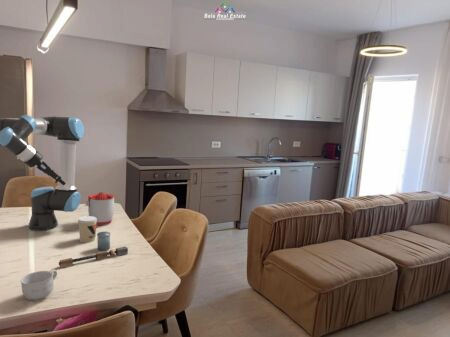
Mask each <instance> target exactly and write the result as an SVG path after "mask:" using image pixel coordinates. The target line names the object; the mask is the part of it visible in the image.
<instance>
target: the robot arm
mask: <svg viewBox="0 0 450 337" xmlns="http://www.w3.org/2000/svg"><path fill="white" fill-rule="evenodd" d="M31 134H35V135H39V136H48V137H53V138H57V139H56V140H57V142H58V143H59V161H58V173H56V172H55V170H54V169H52V168H51V167H50V166H49V165H48V164H47V163H46V162H45V161H43V158H44V156H43V154H42V153H40V152H39V151H38V150H36V149H35V148H34V147H33V146H32V145H31V144H30V143H28V142H27V141H26V140H27V139H28V137H29V136H30V135H31ZM84 134H85V127H84V124H83V122H82V120H81V119H79V118H78V117H70V116H69V117H68V116H41V117H32V116H30V115H28V114H23V115H21V116H20V117H19V118H11V117H9V118H8V117H0V144H1V146H2V147H4V148H5V149H6V150H7V151H9V152H10V153H12V154H13V155H14V156H15V157H16V159H17V160H20V161H22V162H24V164H25V165H26V166H28V167H29V168H34V167H36V168H37V169H38V170H39V171H41V172H42V173H44V174H46V175H47V176H48V177H49V178H51V179H52V180H53V181H54V183H56V184H57V186H56V187H55V188H54V186H41V187H37V188H34V189H33V190H31V192H30V193H31V195H30V200H31V217H30V218H29V223H28V229H29V230H32V231H49V230H51V229H52V230H53V229H55V228H57V227H58V226H59V224H58V219H57V217H56V214H55V211H59V212H64V213H65V212H66V213H68V212H72V213H73V212H75V211H76V210H77V209H79V208H78V207H79V206H80V203H81V200H82V196H81V193H80V192H79V191H78V188H77V187H76V185H75V180H76V178H75V177H76V160H77V157H76V156H77V144H78V143H80V140H81V139H82V138H83V137H84ZM41 160H42V161H41Z"/></svg>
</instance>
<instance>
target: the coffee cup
mask: <svg viewBox="0 0 450 337" xmlns="http://www.w3.org/2000/svg"><path fill="white" fill-rule="evenodd" d="M77 221H78V233H79V241H80V242H81V243H91V242H94V241H96V237H97V233H96V232H97V225H96V223H97V219H96V217H94V216H89V215H86V216H81V217H79V218H78V220H77Z"/></svg>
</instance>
